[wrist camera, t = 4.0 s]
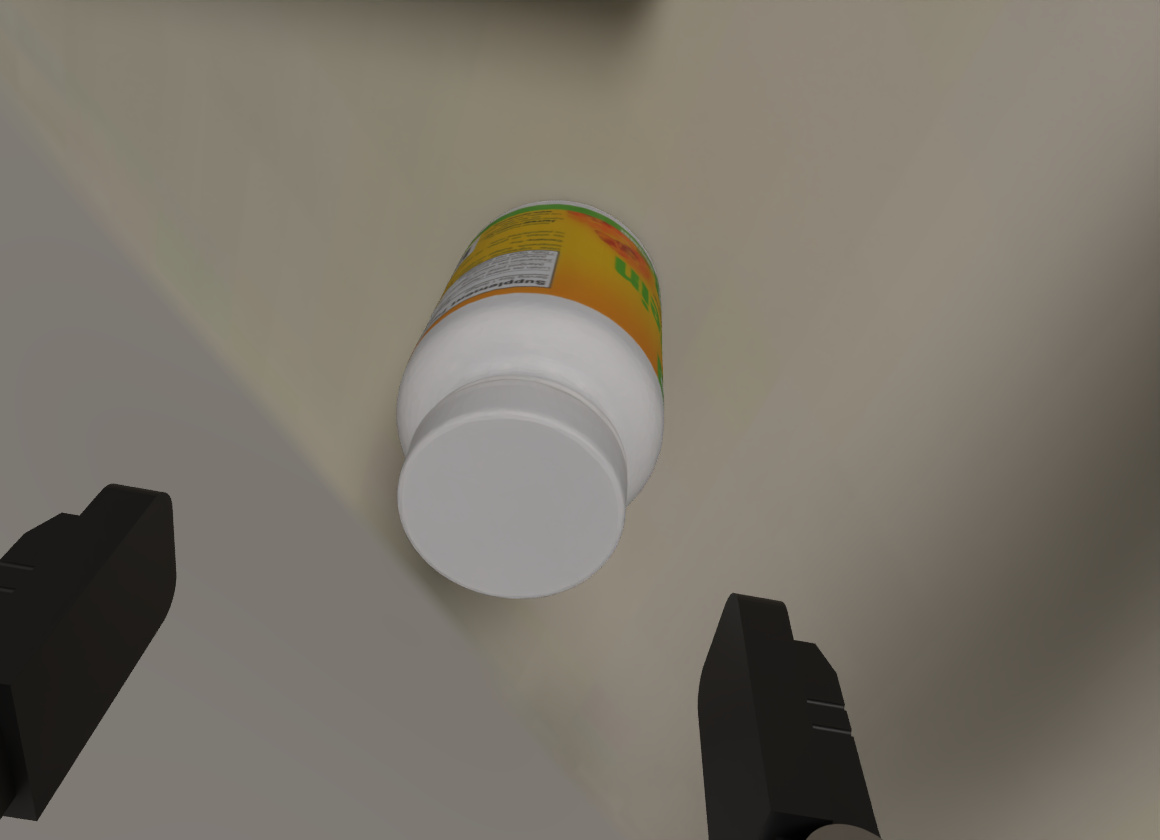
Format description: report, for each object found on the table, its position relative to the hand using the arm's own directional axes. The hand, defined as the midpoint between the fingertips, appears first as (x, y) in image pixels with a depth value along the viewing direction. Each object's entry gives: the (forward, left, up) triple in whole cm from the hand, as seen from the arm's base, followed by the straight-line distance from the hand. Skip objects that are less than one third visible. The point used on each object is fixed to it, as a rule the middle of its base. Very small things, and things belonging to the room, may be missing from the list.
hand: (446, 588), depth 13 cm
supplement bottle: (-1, 0, -13) cm, 13 cm away
